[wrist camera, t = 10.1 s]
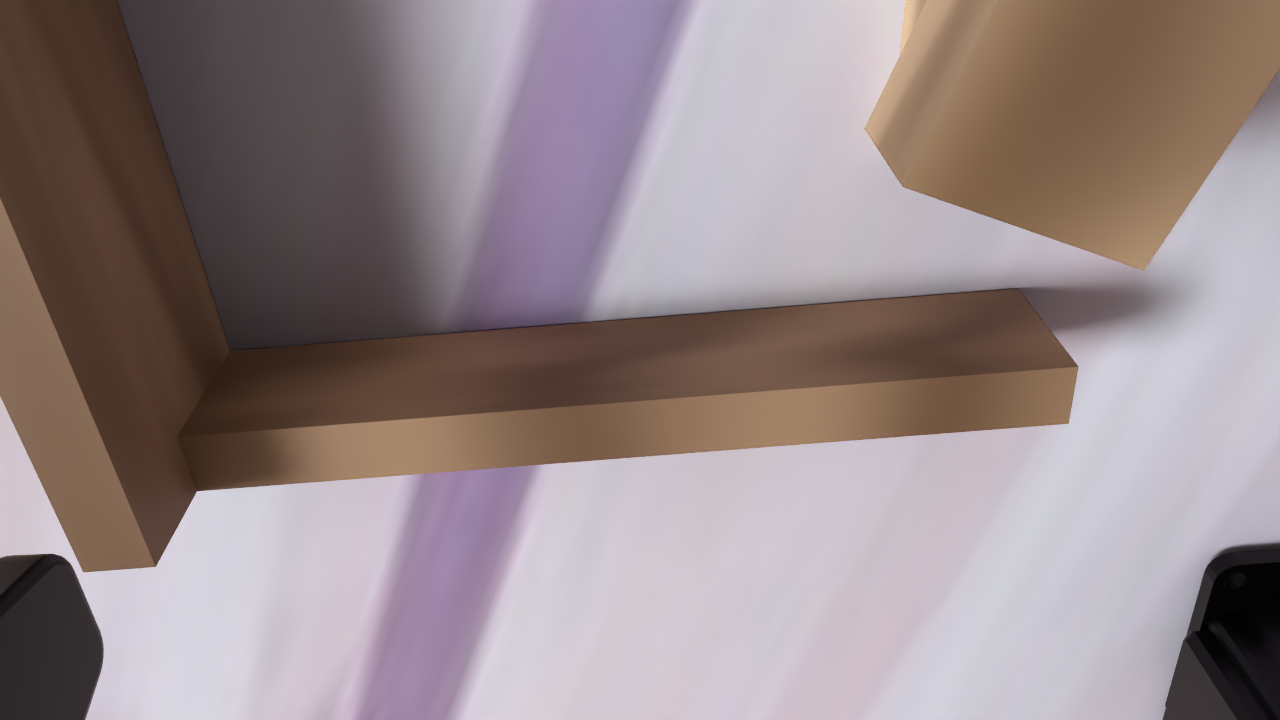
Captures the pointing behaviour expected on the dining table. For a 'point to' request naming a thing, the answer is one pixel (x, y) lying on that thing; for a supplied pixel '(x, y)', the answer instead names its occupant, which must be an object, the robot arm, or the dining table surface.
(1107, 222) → the offcut upper
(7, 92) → the rack
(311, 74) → the dining table surface
